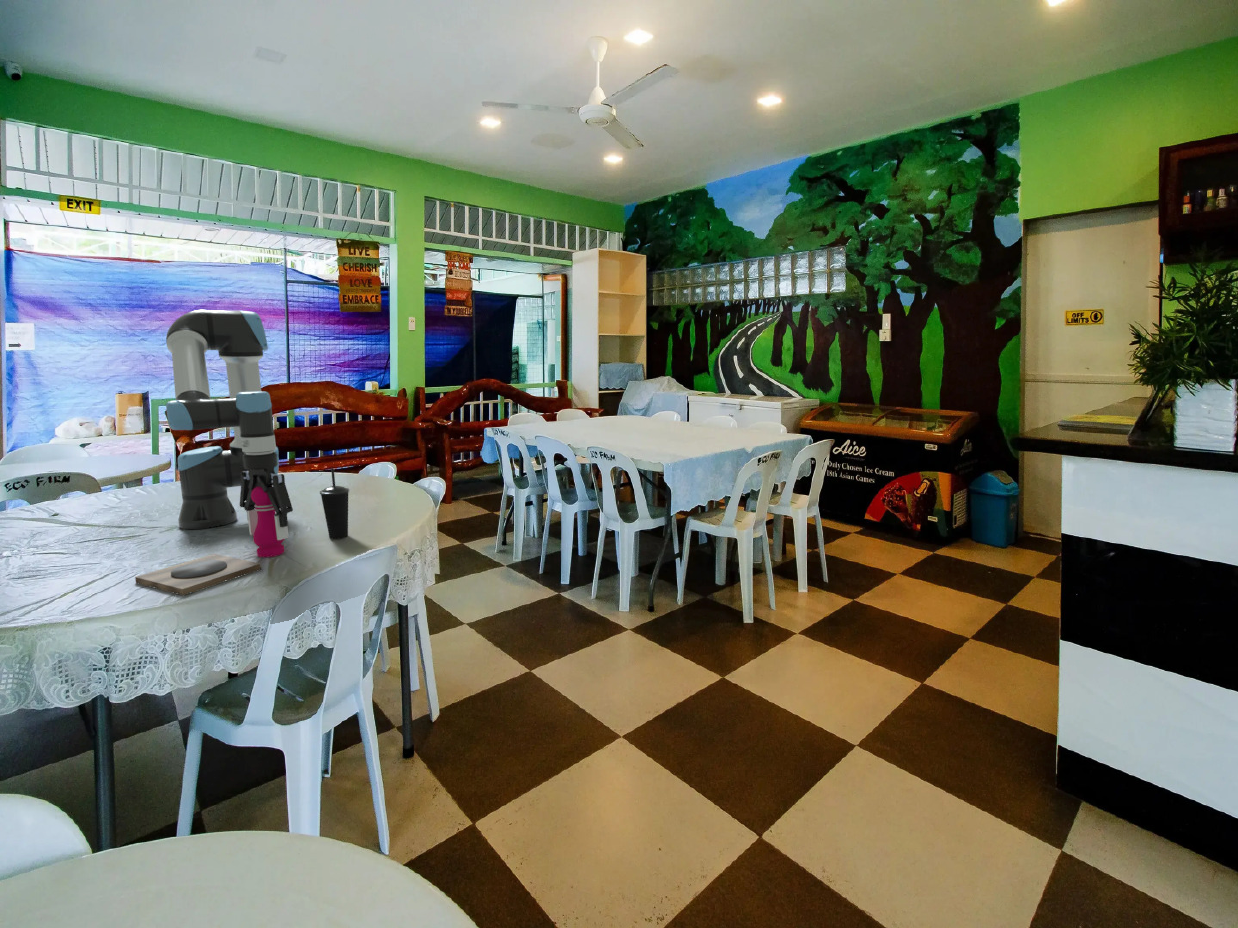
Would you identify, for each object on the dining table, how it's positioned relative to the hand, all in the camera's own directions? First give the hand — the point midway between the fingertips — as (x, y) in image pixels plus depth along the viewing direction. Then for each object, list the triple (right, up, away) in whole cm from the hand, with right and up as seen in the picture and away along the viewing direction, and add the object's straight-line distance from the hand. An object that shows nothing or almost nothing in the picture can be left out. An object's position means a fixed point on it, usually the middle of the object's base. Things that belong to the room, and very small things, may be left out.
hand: (269, 536), depth 161 cm
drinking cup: (+11, -2, +15) cm, 19 cm away
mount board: (-8, -8, -15) cm, 19 cm away
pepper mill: (0, -5, +1) cm, 5 cm away
